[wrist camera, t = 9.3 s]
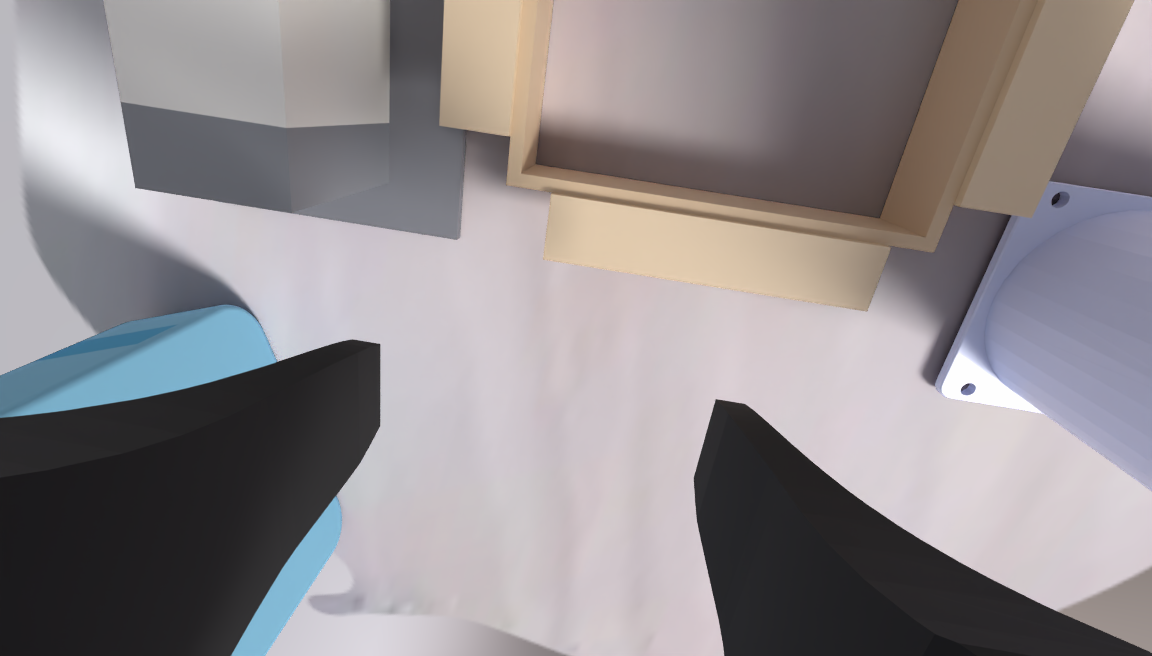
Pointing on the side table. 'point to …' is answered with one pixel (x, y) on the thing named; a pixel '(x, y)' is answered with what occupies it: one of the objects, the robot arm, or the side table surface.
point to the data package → (164, 364)
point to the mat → (412, 137)
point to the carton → (784, 231)
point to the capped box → (254, 97)
